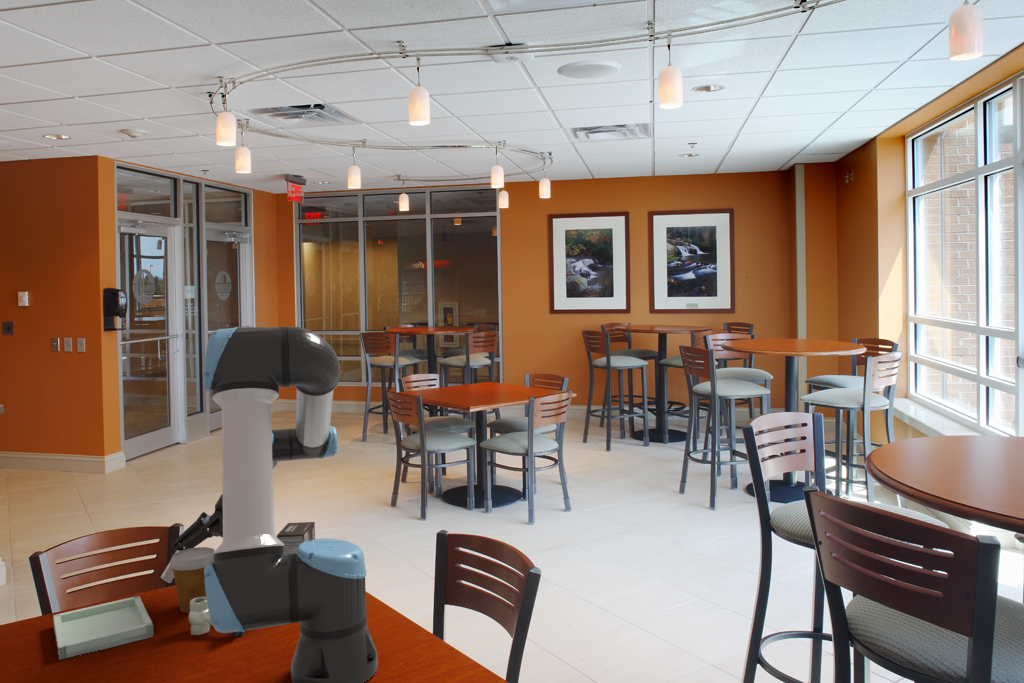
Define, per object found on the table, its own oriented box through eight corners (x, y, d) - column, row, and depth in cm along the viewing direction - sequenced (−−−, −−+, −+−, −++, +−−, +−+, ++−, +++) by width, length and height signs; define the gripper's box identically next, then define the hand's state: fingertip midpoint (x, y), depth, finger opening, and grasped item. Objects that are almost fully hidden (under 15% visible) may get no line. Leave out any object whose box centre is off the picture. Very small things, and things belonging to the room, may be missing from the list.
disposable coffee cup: (227, 599, 159) (225, 547, 158) (202, 617, 150) (199, 562, 149) (189, 597, 161) (187, 545, 160) (162, 615, 151) (159, 560, 151)
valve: (180, 638, 141) (233, 643, 138) (179, 605, 140) (232, 610, 138) (202, 623, 147) (253, 628, 144) (200, 592, 147) (251, 596, 144)
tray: (153, 636, 141) (152, 624, 141) (59, 661, 132) (58, 648, 132) (139, 606, 156) (139, 595, 156) (53, 626, 146) (53, 615, 146)
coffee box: (290, 589, 164) (287, 521, 163) (317, 588, 164) (315, 521, 163) (278, 606, 155) (276, 534, 154) (307, 605, 155) (305, 533, 154)
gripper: (286, 512, 164) (239, 600, 151) (208, 502, 174) (158, 583, 161) (269, 496, 158) (219, 585, 146) (189, 486, 169) (136, 569, 156)
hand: (187, 584), depth 153 cm, fingers open, 13 cm apart
